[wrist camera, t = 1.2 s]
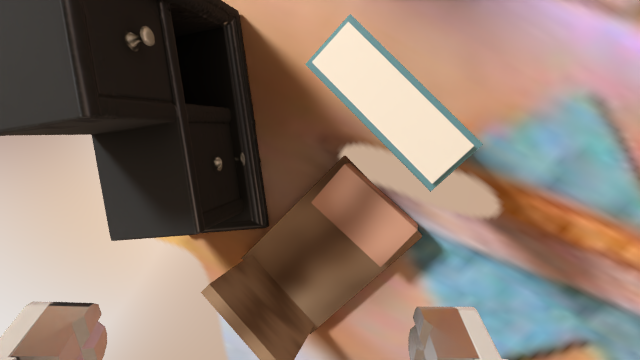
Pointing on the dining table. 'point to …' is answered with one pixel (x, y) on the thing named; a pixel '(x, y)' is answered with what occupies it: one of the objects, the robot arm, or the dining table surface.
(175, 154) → the black drawer cabinet
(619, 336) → the dining table surface
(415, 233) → the shelf
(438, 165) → the book
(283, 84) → the dining table surface
